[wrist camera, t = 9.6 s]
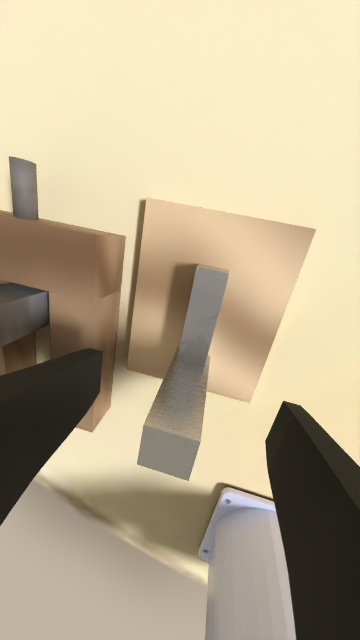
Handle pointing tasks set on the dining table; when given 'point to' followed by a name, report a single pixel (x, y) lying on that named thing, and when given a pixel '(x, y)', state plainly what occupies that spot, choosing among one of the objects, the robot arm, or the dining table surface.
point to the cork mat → (239, 297)
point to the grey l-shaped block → (185, 383)
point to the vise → (56, 287)
